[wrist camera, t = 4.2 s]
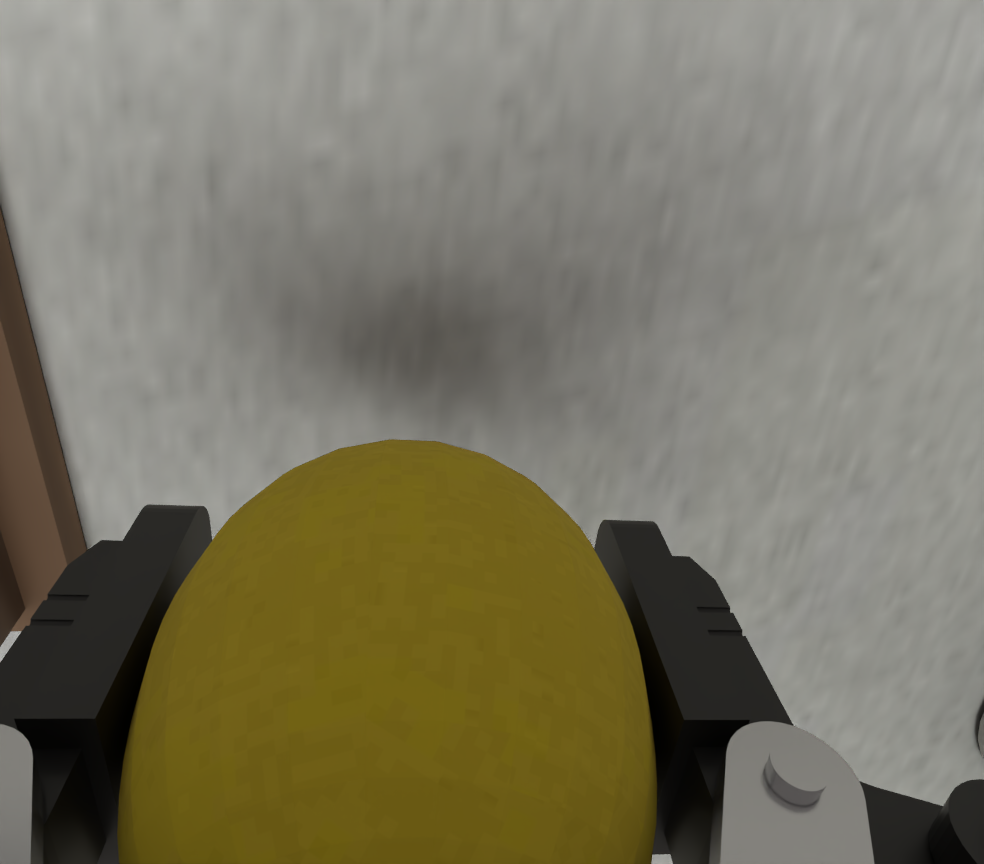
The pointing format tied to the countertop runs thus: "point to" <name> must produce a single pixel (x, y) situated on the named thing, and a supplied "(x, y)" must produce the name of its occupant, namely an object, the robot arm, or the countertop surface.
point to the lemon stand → (28, 468)
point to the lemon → (393, 680)
